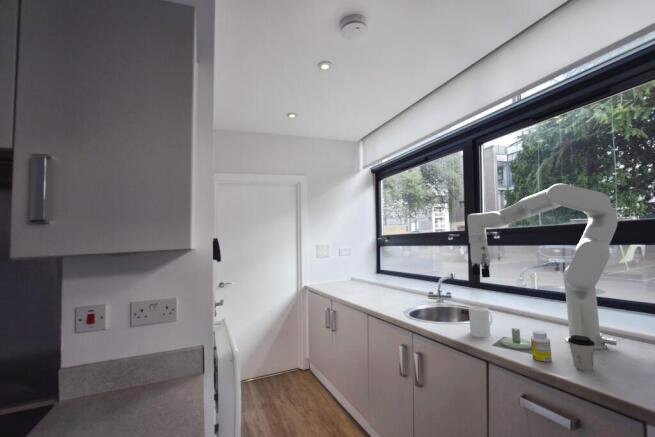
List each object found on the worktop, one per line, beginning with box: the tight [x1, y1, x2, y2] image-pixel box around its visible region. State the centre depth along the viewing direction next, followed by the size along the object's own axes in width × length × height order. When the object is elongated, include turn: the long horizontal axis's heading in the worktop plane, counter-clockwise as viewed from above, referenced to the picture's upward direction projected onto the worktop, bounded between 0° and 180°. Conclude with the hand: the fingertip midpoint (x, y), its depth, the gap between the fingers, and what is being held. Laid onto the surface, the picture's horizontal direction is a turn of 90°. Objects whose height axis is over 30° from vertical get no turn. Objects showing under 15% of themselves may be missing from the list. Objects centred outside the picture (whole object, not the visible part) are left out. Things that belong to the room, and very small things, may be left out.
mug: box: [468, 306, 493, 338], centre depth 138 cm, size 12×8×12 cm
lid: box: [500, 327, 532, 350], centre depth 123 cm, size 11×11×6 cm
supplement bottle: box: [530, 330, 553, 364], centre depth 108 cm, size 6×6×10 cm
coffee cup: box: [568, 335, 595, 373], centre depth 101 cm, size 7×7×10 cm
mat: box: [491, 336, 532, 355], centre depth 123 cm, size 14×14×1 cm
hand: (481, 276), depth 144 cm, fingers open, 9 cm apart
